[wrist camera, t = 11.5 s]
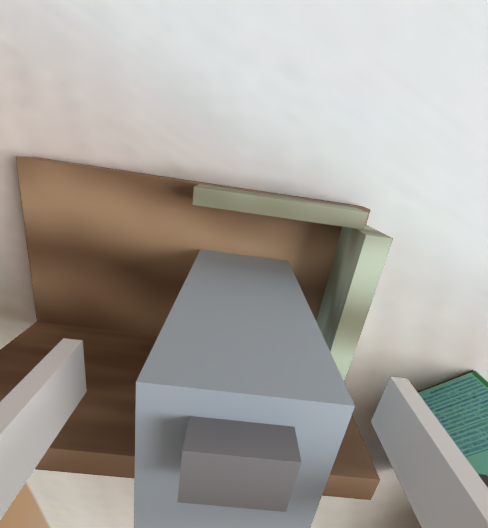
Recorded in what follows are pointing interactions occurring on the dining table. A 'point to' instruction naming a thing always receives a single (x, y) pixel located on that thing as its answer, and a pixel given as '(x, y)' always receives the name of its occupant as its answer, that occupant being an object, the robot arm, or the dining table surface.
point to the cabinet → (237, 403)
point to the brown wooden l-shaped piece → (171, 289)
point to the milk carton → (463, 415)
